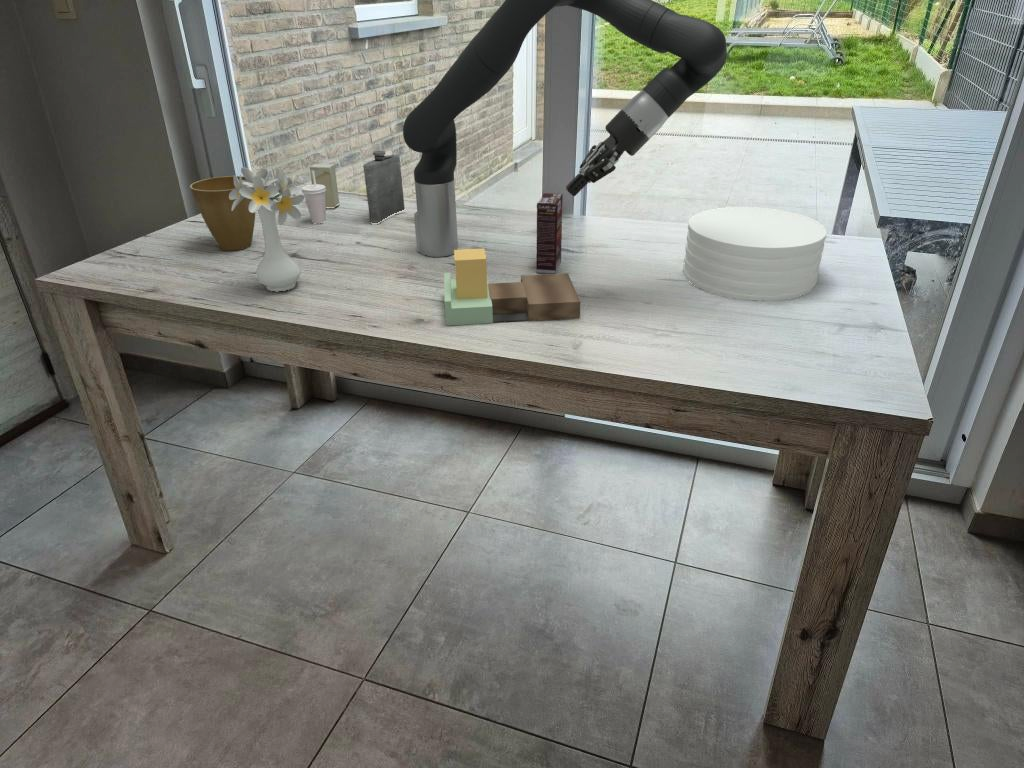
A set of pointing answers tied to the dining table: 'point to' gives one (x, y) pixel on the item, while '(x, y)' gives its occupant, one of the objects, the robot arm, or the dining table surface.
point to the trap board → (535, 299)
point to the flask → (383, 186)
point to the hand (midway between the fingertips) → (569, 192)
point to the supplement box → (549, 233)
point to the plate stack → (753, 252)
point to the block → (471, 273)
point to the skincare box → (326, 182)
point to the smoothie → (315, 201)
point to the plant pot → (224, 212)
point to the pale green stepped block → (465, 306)
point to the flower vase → (271, 223)
